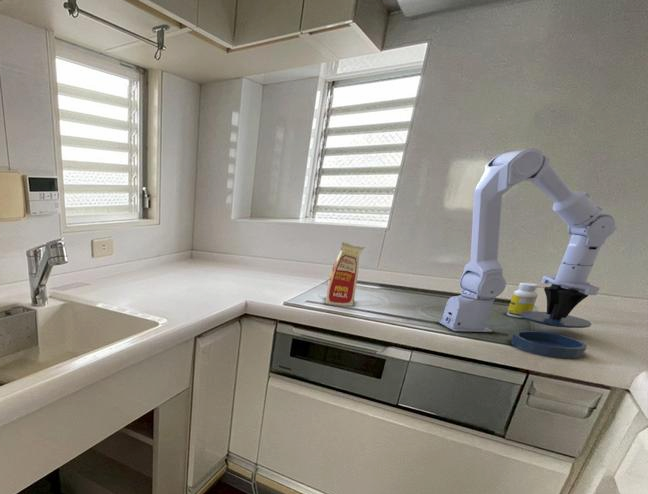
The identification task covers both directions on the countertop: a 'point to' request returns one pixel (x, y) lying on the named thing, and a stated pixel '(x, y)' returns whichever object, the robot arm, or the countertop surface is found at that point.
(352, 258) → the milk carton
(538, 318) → the pot lid
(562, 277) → the robot arm
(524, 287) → the supplement bottle
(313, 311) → the countertop surface
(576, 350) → the pot
